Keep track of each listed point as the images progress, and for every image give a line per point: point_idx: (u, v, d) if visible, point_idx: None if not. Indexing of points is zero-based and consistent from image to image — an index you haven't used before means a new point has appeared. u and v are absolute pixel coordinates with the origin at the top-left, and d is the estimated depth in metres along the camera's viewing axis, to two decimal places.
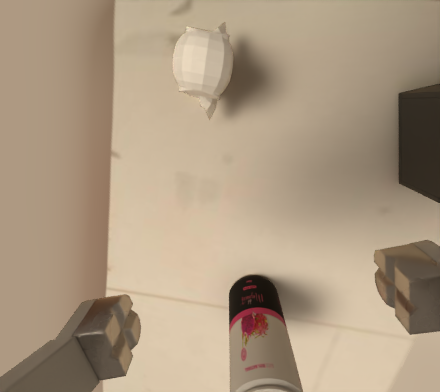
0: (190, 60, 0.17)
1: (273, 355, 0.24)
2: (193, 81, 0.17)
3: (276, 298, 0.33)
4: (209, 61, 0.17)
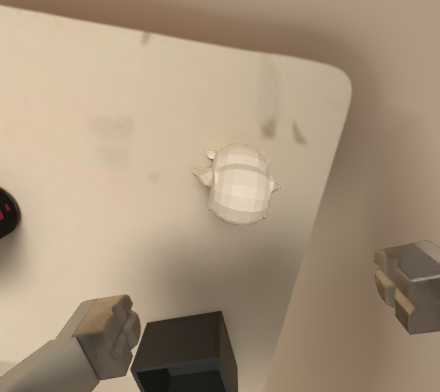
0: (241, 195, 0.16)
1: None
2: (222, 195, 0.16)
3: None
4: (240, 212, 0.17)
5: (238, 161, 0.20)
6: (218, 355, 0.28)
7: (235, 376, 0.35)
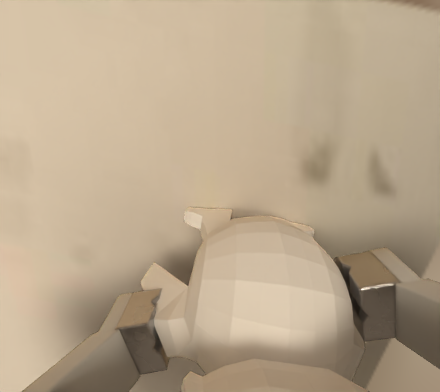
0: None
1: None
2: None
3: None
4: None
5: (272, 313, 0.06)
6: None
7: None
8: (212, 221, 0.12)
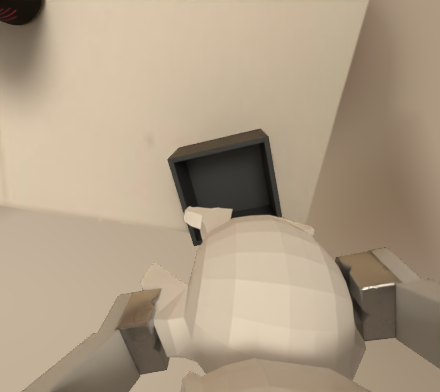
0: None
1: None
2: None
3: (15, 7, 0.25)
4: None
5: (272, 313, 0.06)
6: (266, 135, 0.26)
7: None
8: (212, 221, 0.12)
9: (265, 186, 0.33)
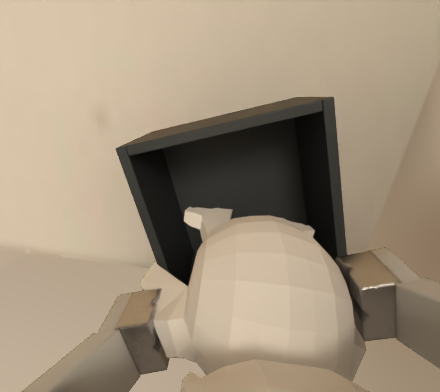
0: None
1: None
2: None
3: None
4: None
5: (272, 313, 0.06)
6: (329, 97, 0.12)
7: None
8: (212, 221, 0.12)
9: (301, 199, 0.19)
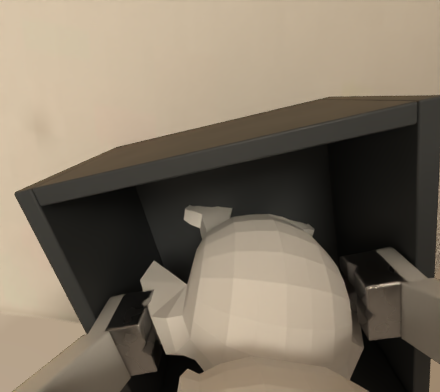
0: None
1: None
2: None
3: None
4: None
5: (269, 311, 0.06)
6: None
7: None
8: (212, 220, 0.12)
9: (332, 243, 0.14)
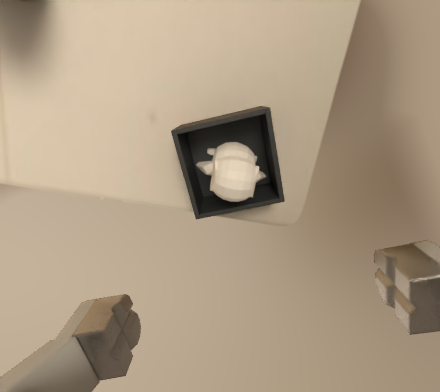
0: (234, 178, 0.22)
1: None
2: (221, 178, 0.23)
3: None
4: (234, 190, 0.23)
5: (232, 154, 0.26)
6: (268, 107, 0.26)
7: None
8: None
9: (265, 164, 0.34)
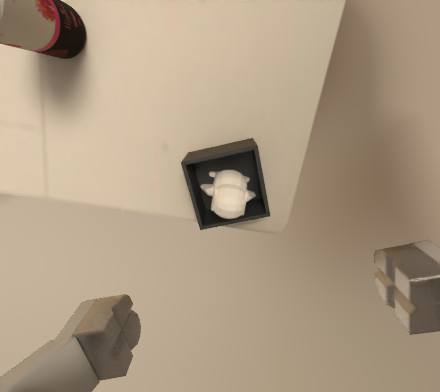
0: (229, 202, 0.30)
1: (22, 8, 0.24)
2: (219, 202, 0.30)
3: (68, 48, 0.33)
4: (229, 211, 0.31)
5: (228, 181, 0.34)
6: (256, 145, 0.34)
7: None
8: None
9: (257, 183, 0.42)
